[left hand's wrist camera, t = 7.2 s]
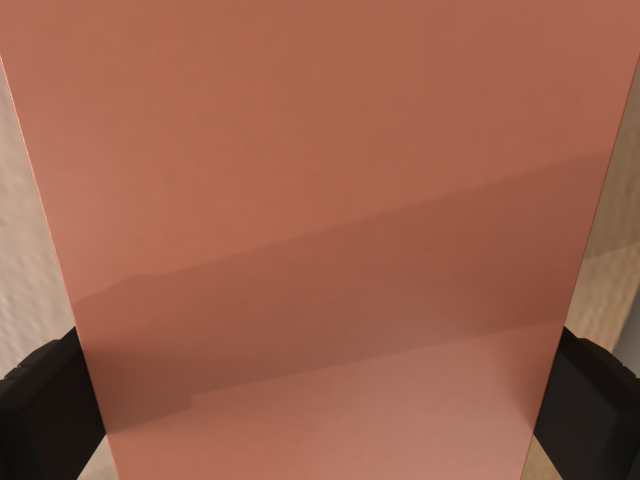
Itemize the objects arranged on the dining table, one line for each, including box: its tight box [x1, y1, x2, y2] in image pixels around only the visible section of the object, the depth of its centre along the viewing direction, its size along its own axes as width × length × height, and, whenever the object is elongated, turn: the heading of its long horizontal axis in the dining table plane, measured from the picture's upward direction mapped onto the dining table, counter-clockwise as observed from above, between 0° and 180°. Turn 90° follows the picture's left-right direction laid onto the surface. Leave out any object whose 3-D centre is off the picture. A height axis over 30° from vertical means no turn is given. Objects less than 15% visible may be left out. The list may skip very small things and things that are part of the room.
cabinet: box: [0, 0, 640, 480], centre depth 11 cm, size 17×11×9 cm, turn 0°
